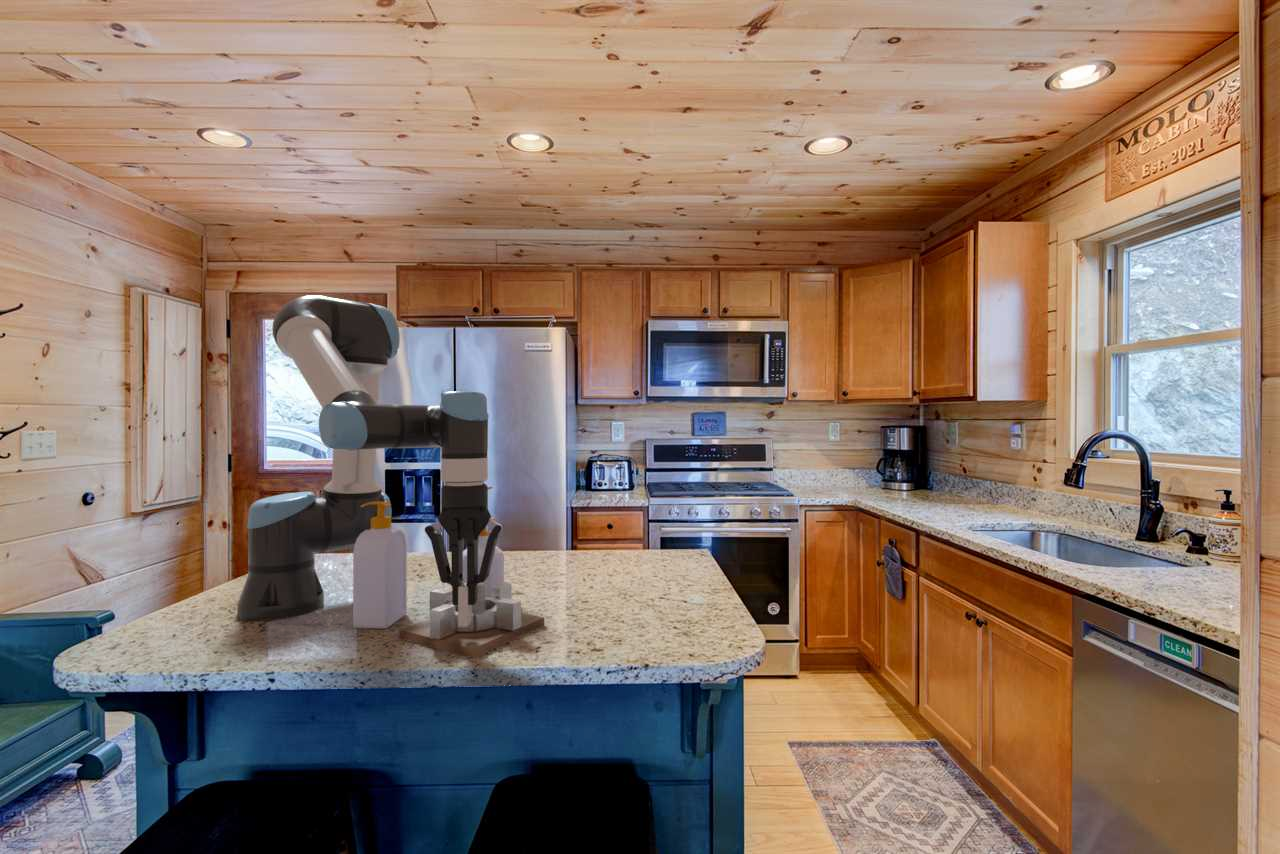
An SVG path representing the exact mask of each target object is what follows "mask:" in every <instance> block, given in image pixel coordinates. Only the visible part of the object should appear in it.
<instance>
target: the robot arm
mask: <svg viewBox="0 0 1280 854" xmlns="http://www.w3.org/2000/svg"><path fill="white" fill-rule="evenodd" d="M271 329H272V330H271V332H272V336H273V340H274V342H275V344H276V346H277V347H278V349H279V351H280V352H281V353H282V354H283V355H285V357H288V358H290V359H292V361H293V362H294V364H295V366H296V367H297V369H298V371H299V372H300V373H301V375H302V377H303V378H304V380H305V382H306V384H307V385H308V387H309V389H310V390H311V392H312V393H313V395H314V397H315V398H316V400H317V402H318V403H319V405H320V406H321V411H320V413H319V418H318V430H319V431H318V432H319V434H320V440H321V442H322V444H323V445H324V446H325V447H327V448H328V449H332V468H331V469H332V470H331V480H330V481H328V482H327V484H326V485H324V487H323V494H322V495H323V496H321V497H316V495H315V493H314V492H313V491H299V492H298V491H297V492H289V493H283V494H277V495H273V496H267V497H263V498H261V499H258V500H256V501H255V502H253V503H251V505H250V507H249V509H248V519H247V523H246V528H247V534H248V535H247V545H248V546H247V555H248V556H247V562H248V563H247V566H248V567H247V569H248V570H247V577H246V580H245V582H244V585H243V588H242V591H241V594H240V596H239V598H238V601H237V606H236V607H237V609H236V611H237V617H238V618H239V619H242V620H248V621H268V620H269V621H270V620H279V619H287V618H293V617H296V616H301V615H305V614H308V613H312V612H314V611H316V610H318V609H319V608H320V609H321V608H322V607H323V606H324V603H325V593H324V590H323V587H322V584H321V581H320V579H319V576H318V573H317V570H316V567H315V556H316V554H320V553H325V552H332V551H337V550H338V551H340V550H345V549H347V550H348V549H354V546H355V543H356V540H357V538H358V537H359V535H360V534H361V533H362V532H363V531H365V530H370V529H371V518H372V517H377V504H369V505H366V506H364V507H361V505H363V504H366V503H369V502H378V501H382V502H387V503H390V504H391V500H390V497H389V496H388V494H386V493H383V489H382V488H383V487H382V486H381V484H380V483H378V482H377V481H376V463H377V462H376V461H377V460H376V459H377V458H376V457H377V456H376V455H377V450H378V449H380V450H381V449H415V448H416V449H420V448H423V449H424V448H429V449H433V448H441V449H440V452H441V453H440V454H441V456H440V457H441V460H440V461H441V462H440V467H441V469H440V480H441V482H442V483H444V485H442V486H441V487H440V491H441V493H440V497H441V498H440V499H441V500H440V506H441V510H440V513H439V515H438V519H437V520H436V521H434V522H432V523H431V524H429V525H427V526H425V527H424V532H425V534H426V535H427V537H428V538H429V539H430V543H431V547H432V550H433V555H434V559H435V563H436V567H437V572H438V574H439V579H440V581H441V583H443V584H449V585H450V586H451V588H452V589H451V590H452V603H453V605H458V627H467V626H468V625H469V624H470V623H471V621H472V605H474V604H475V603H476V602H477V585H478V583H481V582H484V581H485V580H486V579H487V578H488V576H489V572H490V568H491V564H492V560H493V556H494V551H495V547H496V546H497V544H498V543H497V542H498V538H499V536H500V535H501V533H502V531H503V530H504V528H505V525H504V524H503V523H502V522H497V521H495V520H492V519H491V518H492V515H491V513H490V511H489V501H488V500H489V496H488V495H489V494H488V493H489V490H488V487H489V486H488V485H487V484H486V483H485V482H487V481H488V478H489V477H488V475H489V474H488V472H489V470H488V468H489V466H488V463H489V461H488V460H489V459H488V449H489V447H488V444H489V443H488V438H489V437H488V436H489V430H488V429H489V418H490V417H489V413H488V398H487V396H486V395H485V393H482V392H479V391H469V390H468V391H463V390H462V391H461V390H458V391H457V390H456V391H454V390H453V391H446V392H444V393H442V395H441V398H440V399H441V400H440V405H439V404H438V405H437V404H435V405H434V404H433V405H424V404H423V405H422V404H421V405H420V404H396V403H395V404H394V403H379V396H380V395H379V391H380V389H379V388H380V374H381V373H382V372H383V371H384V370H385V369H386V368H388V360H391V359H393V358H395V357H396V355H398V349H399V348H400V340H401V339H400V338H401V337H400V329H399V325H398V322H397V319H396V317H395V316H394V314H393V313H392V311H391V310H390V309H388V308H387V307H385V306H382V305H378V304H374V303H370V302H363V301H357V300H350V299H342V298H335V297H329V296H325V295H318V294H317V295H316V294H312V295H310V294H309V295H304V296H299V297H296V298H294V299H292V300H290V301H288V302H287V303H285V304H284V305H282V306H281V308H280V309H279V310H278V311H277V313H275V317H274V319H273V321H272V328H271ZM385 516H390V517H391V518H392V505H391V506H389V507H385ZM485 527H486V528H487V531H488V533H489V534H490V535H489V537H488V540H487V543H486V548H485V552H484V556H483V560H482V564H481V568H480V573H479V574H478V541H479V535H480V534H481V532H482V531H483V530H484V528H485ZM443 529H444V531H445V532H446V533H447V535H448V536H449V537H450V546H451V548H450V549H451V556H450V557H451V565H450V562H449V558H448V553H447V550H446V545H445V541H444V538H443V535H442V532H443ZM464 539H465V542H466V549H467V583H462V581H463V580H464V578H463V551H464V547H463V546H464Z"/></svg>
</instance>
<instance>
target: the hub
mask: <svg viewBox="0 0 1280 854" xmlns="http://www.w3.org/2000/svg"><path fill="white" fill-rule="evenodd" d="M484 610H485V583H483V582H481V583H478V585H477V602H476V603H475V604H474V605H472V612H479V611H484ZM544 626H545V617H544V616H540V615H535V614H529V613H523V612H521V627H519V628H517V629H515V630H513V631H512V630H507V629H501V628H496V627H493V628H489V629H484V630H480V631H476V630H474V631H473V632H468V631H455V633H453V634H451V635H448V636H446V637H444V638H442V639H437V638H431V637H430V618H428V619H426V620H423V621H420V622H416V623H414V624H412V625H408V626H405V627H403V628H400V629H398V638H399V639H402V640H405V641H408V642H412V643H416V644H420V645H422V646H423V645H424V646H428V647H431V648H433V649H434V648H435V649H438V650H442V651H446V652H449V653H453V654H457V655H460V656H464V657H468V658H472V659H474V658H476V657H477V656H480V655H482V654H484V653H486V652H489V651H491V650H493V649H496V648H498V647H500V646H502V645H504V644H506V643H509V642H511V641H513V640H515V639H517V638H520V637H523V636H524V635H526V634H528V633H530V632H531V633H532V632H533V631H535V630H537V629H540V628H542V627H544Z"/></svg>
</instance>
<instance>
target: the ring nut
mask: <svg viewBox="0 0 1280 854" xmlns="http://www.w3.org/2000/svg"><path fill="white" fill-rule="evenodd" d="M512 587H513V586H512V583H508V582H504V583H500V584H498V585H495V586H492V587H491V597H485V610H484V611H479V612H472V621H471V623H470V624H469V625H468V626H467V627H458V605H453V603H452V589H445V588H436V589H432V590H429V619H430V637H431V638H437V639H442V638H444V637H446V636H448V635H451V634H453V633H455V631H468V632H473V631H474V630H476V631H480V630H484V629H489V628H493V627H496V628H501V629H507V630H512V631H513V630H515V629H517V628H519V627H521V613H522V607H521V605H522V601H521V600H517V599H512V598H513V597H512V593H513V592H512V590H513V589H512Z"/></svg>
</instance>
